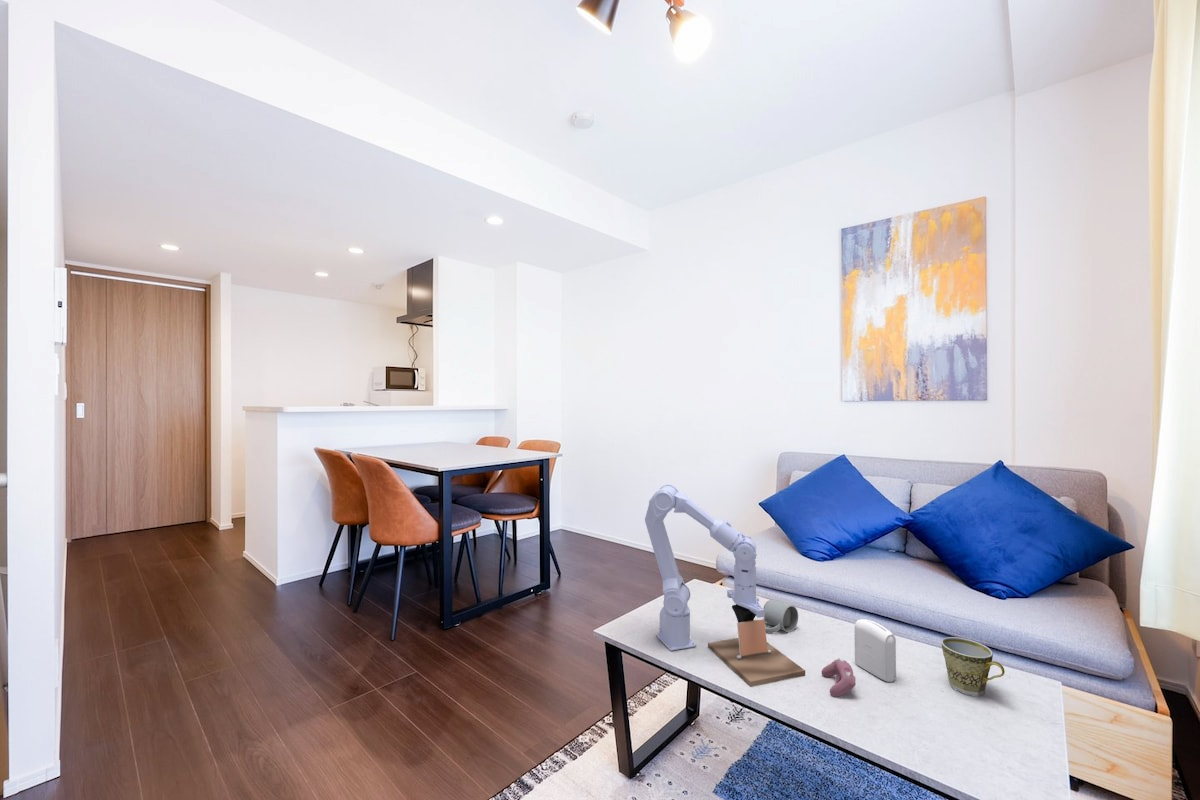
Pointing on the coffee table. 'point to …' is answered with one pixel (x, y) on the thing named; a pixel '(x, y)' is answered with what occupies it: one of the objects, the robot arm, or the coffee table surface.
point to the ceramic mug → (780, 616)
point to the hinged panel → (752, 637)
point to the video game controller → (840, 677)
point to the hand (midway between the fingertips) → (744, 633)
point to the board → (756, 663)
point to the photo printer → (875, 649)
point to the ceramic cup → (968, 665)
